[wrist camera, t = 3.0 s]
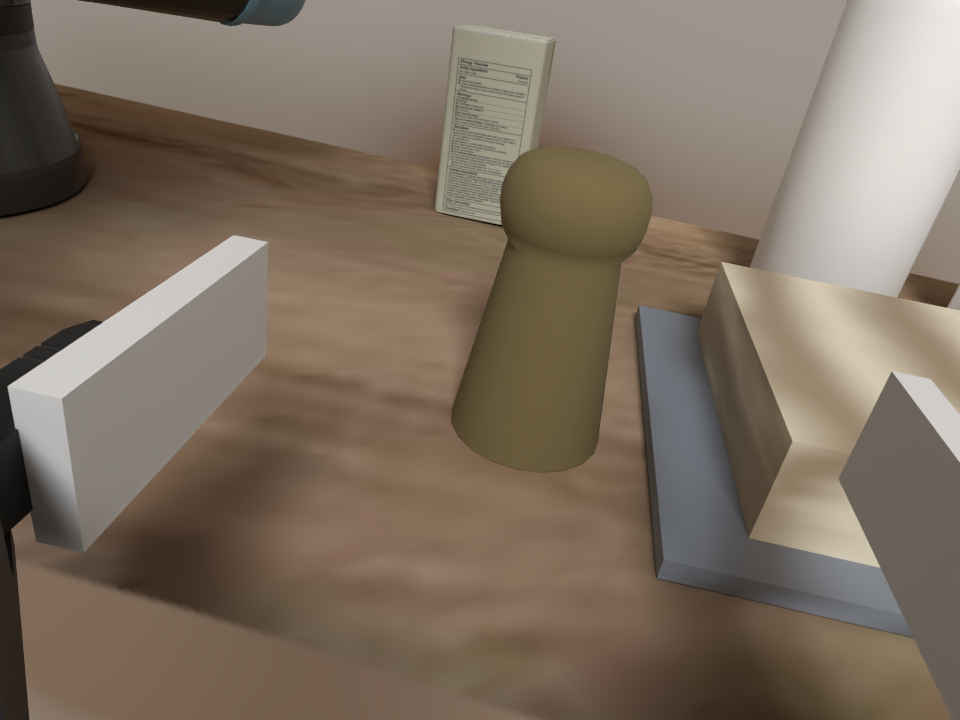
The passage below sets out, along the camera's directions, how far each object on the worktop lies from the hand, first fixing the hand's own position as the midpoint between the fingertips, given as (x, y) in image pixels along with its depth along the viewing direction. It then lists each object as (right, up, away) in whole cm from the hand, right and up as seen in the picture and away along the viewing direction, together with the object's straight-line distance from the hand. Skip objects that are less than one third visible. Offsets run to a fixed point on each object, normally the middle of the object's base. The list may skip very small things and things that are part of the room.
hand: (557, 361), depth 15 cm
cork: (0, -3, +14) cm, 14 cm away
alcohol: (+20, +4, +32) cm, 38 cm away
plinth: (+16, -5, +16) cm, 23 cm away
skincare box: (-2, +11, +37) cm, 39 cm away
